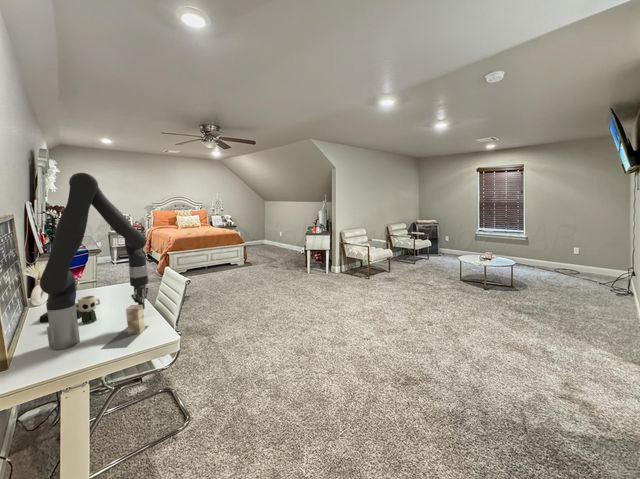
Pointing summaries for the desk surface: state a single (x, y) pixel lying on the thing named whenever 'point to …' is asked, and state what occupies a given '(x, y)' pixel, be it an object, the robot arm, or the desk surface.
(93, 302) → the character mug
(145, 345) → the desk surface
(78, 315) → the portable cd player
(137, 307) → the birch block
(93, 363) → the desk surface
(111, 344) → the rubber mat
